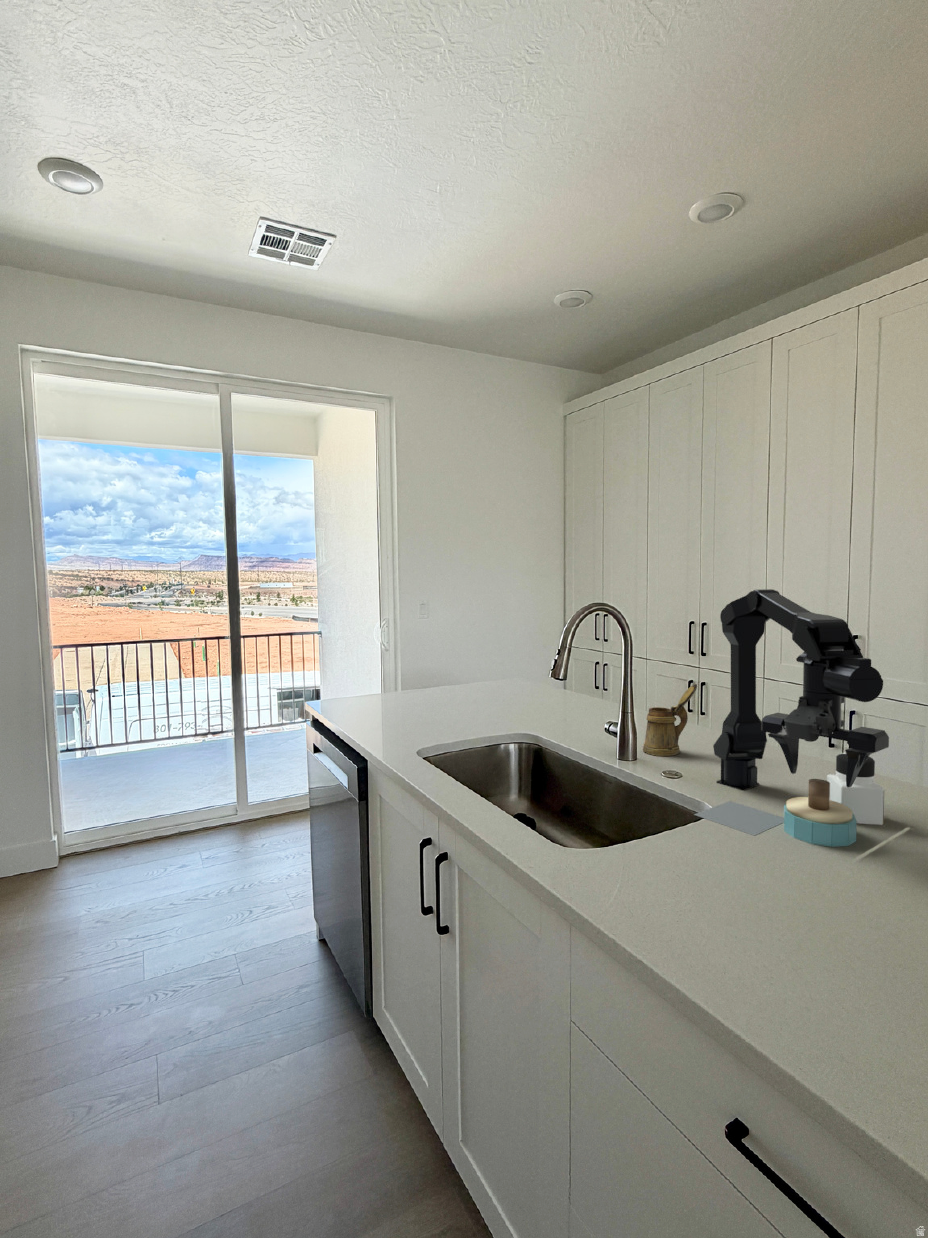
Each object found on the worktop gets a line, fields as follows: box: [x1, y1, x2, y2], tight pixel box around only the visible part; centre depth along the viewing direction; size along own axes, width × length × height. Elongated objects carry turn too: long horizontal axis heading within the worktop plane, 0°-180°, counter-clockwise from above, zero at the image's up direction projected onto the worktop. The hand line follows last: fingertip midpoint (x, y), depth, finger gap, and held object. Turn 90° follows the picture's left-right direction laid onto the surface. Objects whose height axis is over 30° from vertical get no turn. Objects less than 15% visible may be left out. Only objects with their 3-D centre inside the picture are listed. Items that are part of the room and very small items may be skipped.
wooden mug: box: [642, 684, 698, 757], centre depth 159 cm, size 9×14×18 cm, turn 80°
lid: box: [785, 778, 853, 824], centre depth 107 cm, size 10×10×6 cm
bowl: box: [783, 804, 858, 848], centre depth 107 cm, size 11×11×4 cm
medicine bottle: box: [826, 752, 885, 826], centre depth 114 cm, size 7×7×12 cm
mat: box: [693, 800, 784, 837], centre depth 115 cm, size 12×12×1 cm
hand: (820, 779), depth 106 cm, fingers open, 9 cm apart
